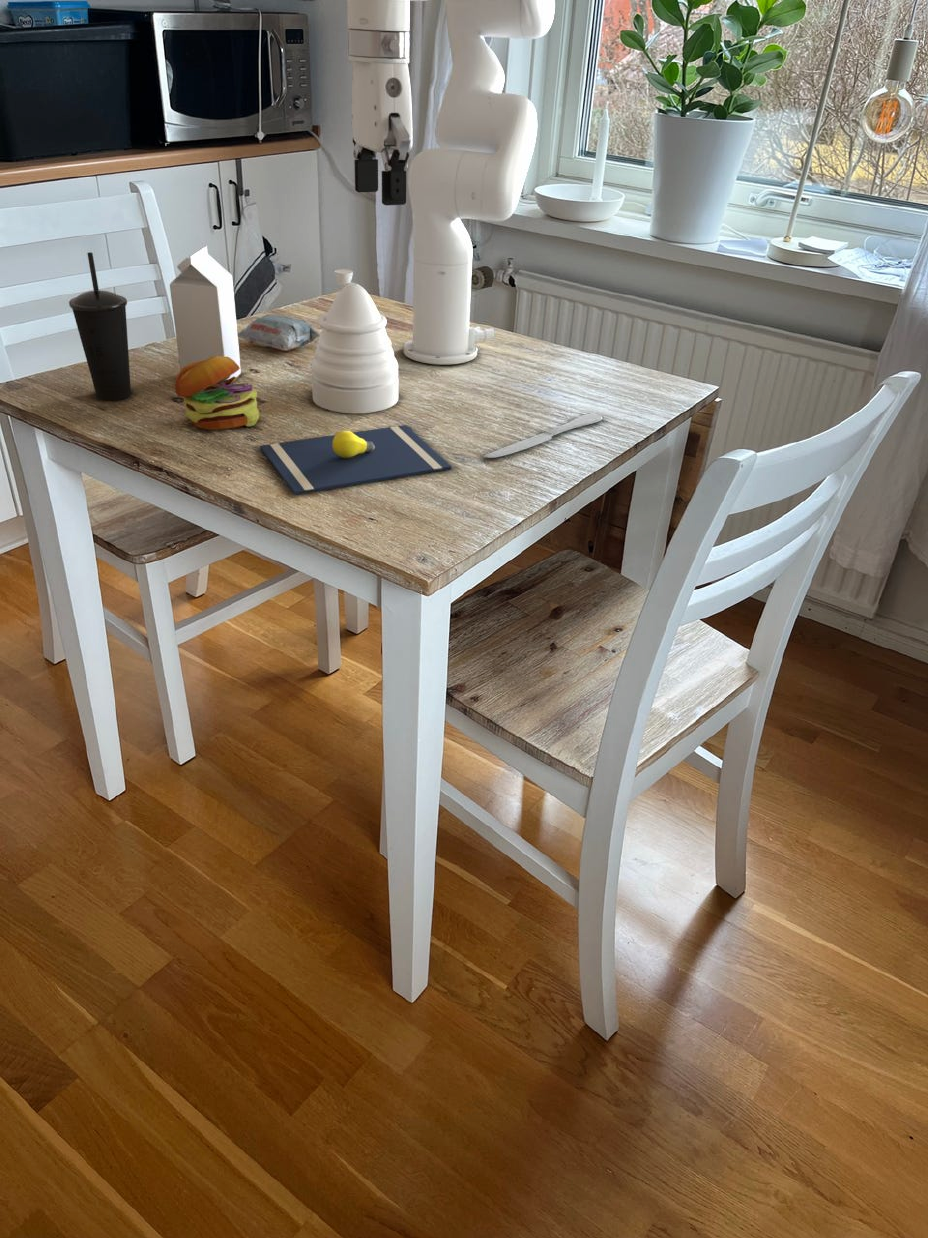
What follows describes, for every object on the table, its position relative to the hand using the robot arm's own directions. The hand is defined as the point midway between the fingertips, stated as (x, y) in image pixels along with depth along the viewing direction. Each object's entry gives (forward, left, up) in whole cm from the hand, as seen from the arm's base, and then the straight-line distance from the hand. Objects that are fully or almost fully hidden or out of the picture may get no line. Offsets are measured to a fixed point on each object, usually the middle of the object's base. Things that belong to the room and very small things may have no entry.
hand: (380, 197), depth 125 cm
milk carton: (+21, -18, -28) cm, 40 cm away
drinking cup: (+36, -16, -28) cm, 49 cm away
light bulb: (+11, +18, -28) cm, 35 cm away
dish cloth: (+11, +18, -28) cm, 35 cm away
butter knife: (-16, +21, -28) cm, 39 cm away
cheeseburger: (+24, -1, -28) cm, 37 cm away
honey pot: (+3, -3, -28) cm, 29 cm away
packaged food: (+7, -30, -28) cm, 42 cm away
